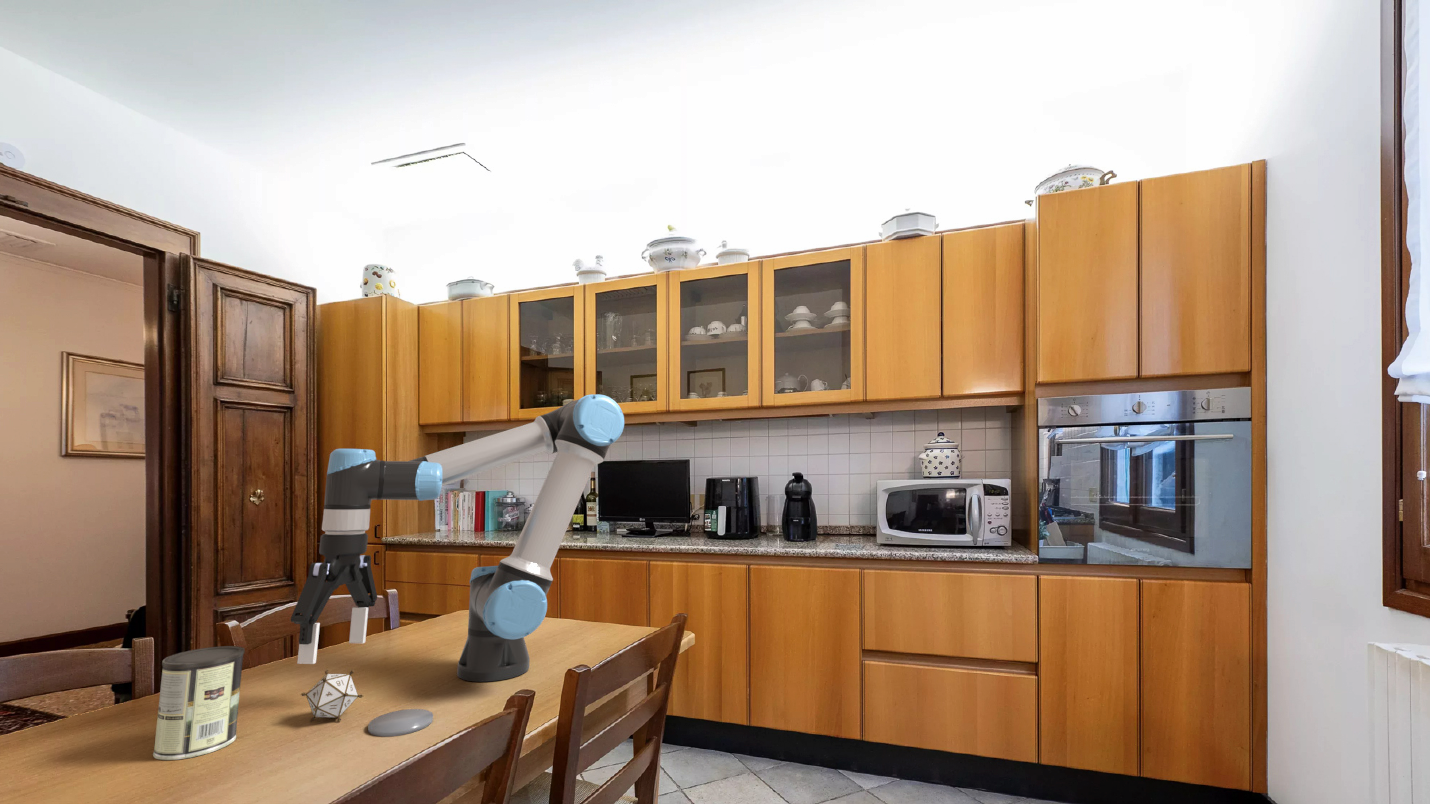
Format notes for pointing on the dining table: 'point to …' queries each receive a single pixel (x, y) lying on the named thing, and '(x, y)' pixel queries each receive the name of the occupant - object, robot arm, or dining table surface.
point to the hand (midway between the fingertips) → (333, 652)
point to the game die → (332, 695)
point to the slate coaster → (400, 722)
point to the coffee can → (198, 702)
